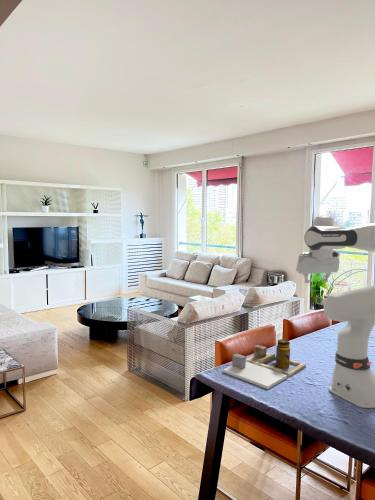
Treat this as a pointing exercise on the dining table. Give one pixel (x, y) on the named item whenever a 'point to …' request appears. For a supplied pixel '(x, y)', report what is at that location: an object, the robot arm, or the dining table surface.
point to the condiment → (282, 355)
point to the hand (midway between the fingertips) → (316, 282)
